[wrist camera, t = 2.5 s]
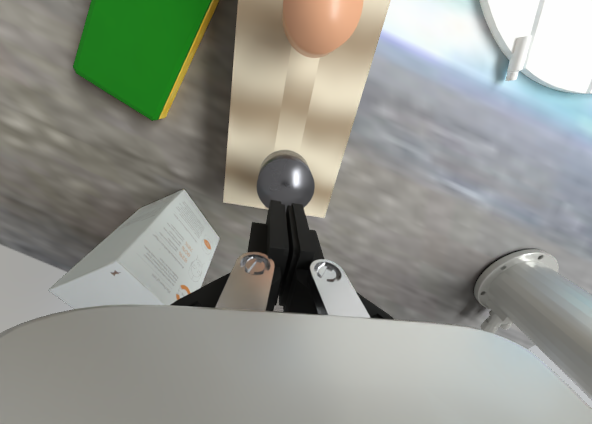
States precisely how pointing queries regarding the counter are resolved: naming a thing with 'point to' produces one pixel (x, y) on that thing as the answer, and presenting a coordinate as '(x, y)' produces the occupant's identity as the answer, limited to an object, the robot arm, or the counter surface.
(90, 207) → the counter surface
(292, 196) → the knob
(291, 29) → the middle knob
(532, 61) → the lazy susan
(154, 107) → the dish sponge
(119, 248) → the small box
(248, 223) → the counter surface
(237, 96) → the knob mount
